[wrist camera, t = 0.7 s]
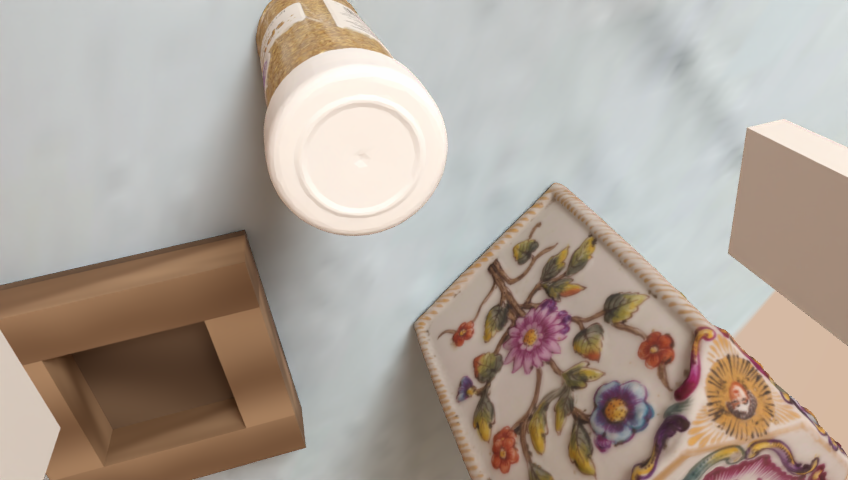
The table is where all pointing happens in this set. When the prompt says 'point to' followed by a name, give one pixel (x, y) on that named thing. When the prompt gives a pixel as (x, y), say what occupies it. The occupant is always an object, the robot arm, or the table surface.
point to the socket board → (156, 363)
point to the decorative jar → (603, 368)
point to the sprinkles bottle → (344, 120)
